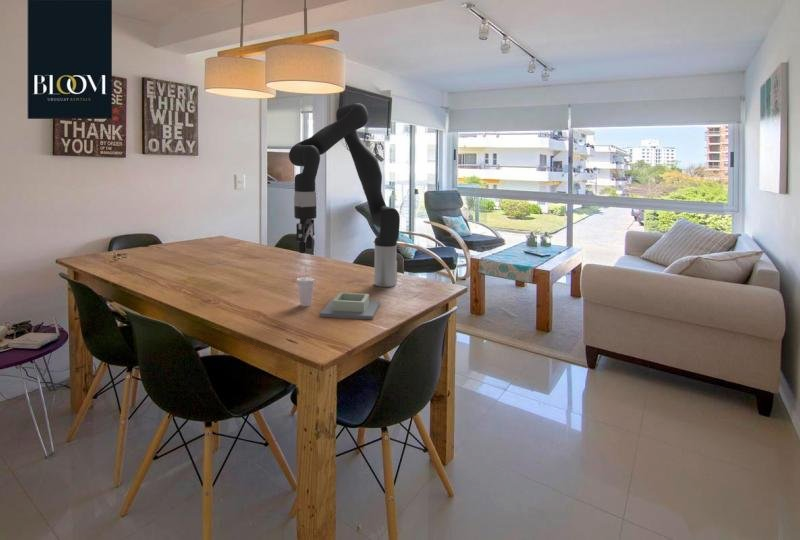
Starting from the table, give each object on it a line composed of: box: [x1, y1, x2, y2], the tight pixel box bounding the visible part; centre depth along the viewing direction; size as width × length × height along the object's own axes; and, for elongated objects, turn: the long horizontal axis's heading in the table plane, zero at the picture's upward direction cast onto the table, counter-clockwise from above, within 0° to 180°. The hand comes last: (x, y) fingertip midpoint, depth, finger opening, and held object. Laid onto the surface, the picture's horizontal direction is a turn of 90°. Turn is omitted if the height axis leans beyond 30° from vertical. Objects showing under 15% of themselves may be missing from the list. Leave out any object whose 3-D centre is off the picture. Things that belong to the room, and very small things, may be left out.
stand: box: [319, 292, 381, 320], centre depth 171 cm, size 18×18×5 cm
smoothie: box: [296, 266, 315, 307], centre depth 174 cm, size 6×6×14 cm
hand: (306, 250), depth 171 cm, fingers open, 8 cm apart
